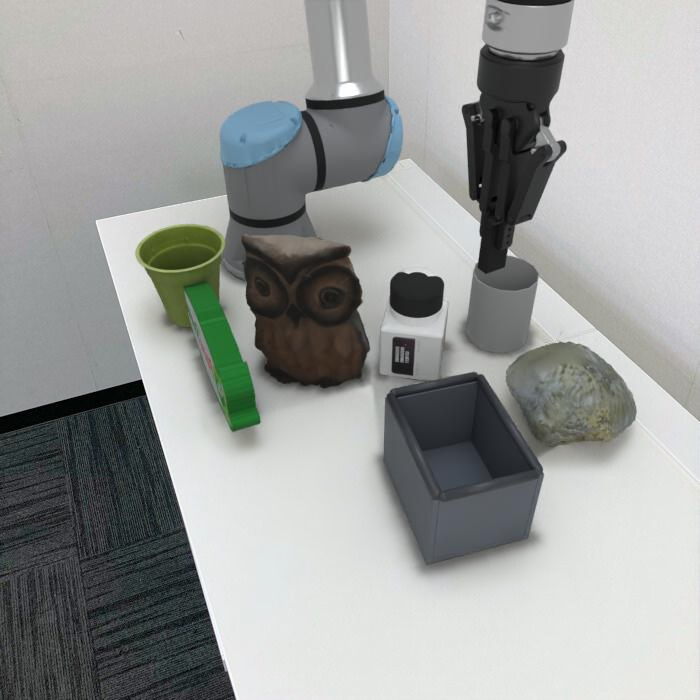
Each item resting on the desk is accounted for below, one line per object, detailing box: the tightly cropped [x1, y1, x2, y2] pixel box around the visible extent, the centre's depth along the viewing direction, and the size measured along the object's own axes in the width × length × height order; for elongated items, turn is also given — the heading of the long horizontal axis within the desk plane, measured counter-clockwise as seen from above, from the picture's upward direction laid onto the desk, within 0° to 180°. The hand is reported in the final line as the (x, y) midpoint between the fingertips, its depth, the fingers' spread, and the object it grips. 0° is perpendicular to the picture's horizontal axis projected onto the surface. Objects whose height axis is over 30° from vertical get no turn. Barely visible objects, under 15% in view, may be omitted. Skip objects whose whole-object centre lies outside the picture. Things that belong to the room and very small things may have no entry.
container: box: [378, 267, 450, 382], centre depth 89 cm, size 8×8×13 cm
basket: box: [382, 371, 545, 565], centre depth 72 cm, size 15×11×11 cm
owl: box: [241, 233, 371, 390], centre depth 86 cm, size 13×13×20 cm
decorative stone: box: [505, 340, 638, 447], centre depth 82 cm, size 14×15×10 cm
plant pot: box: [134, 223, 225, 328], centre depth 98 cm, size 12×12×11 cm
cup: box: [465, 255, 540, 354], centre depth 94 cm, size 8×8×10 cm
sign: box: [183, 281, 262, 433], centre depth 88 cm, size 26×3×10 cm, turn 22°
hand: (491, 267), depth 78 cm, fingers closed
